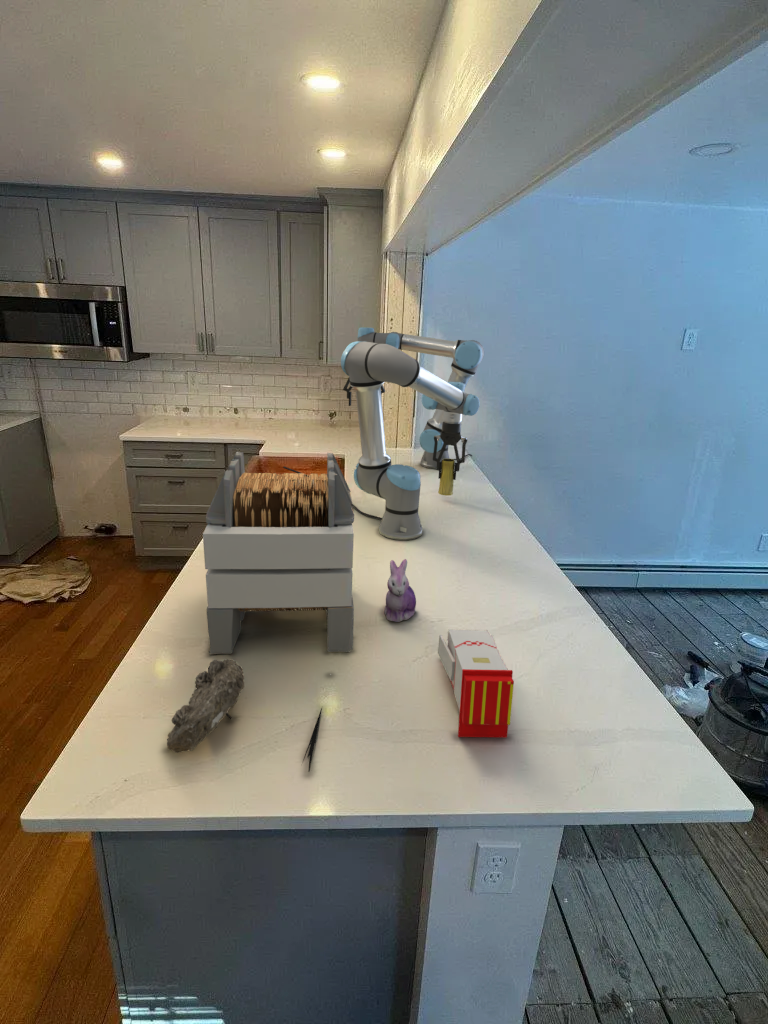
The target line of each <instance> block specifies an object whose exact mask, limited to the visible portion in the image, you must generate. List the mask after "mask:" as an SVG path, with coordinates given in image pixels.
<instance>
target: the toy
mask: <svg viewBox="0 0 768 1024" xmlns="http://www.w3.org/2000/svg"><path fill="white" fill-rule="evenodd" d="M446 640H447V643H446V641H445V639H444V636H443V635H442V634H439V637H438V646H437V656H438V657H439V659H440V661H441V663H442V666H443V668H444V670H445V672H446V674H447V677H448V679H449V681H450V684H451V687H452V690H453V693H454V697H455V701H456V705H457V708H458V711H459V714H458V715H459V716H458V730H457V731H458V732H457V737H458V738H508V731H509V726H510V725H511V717H512V707H513V697H514V696H513V695H514V684H515V680H514V679H513V673H514V671H513V670H512V669H508V667H507V665H506V662H505V661H504V659H503V658H502V655H501V653H500V651H499V649H498V647H497V643H496V639H495V637H494V635H493V634H491V632H490V631H489V629H467V628H466V629H465V628H463V629H461V628H460V629H459V628H448V630H447V639H446Z"/></svg>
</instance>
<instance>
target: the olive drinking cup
mask: <svg viewBox="0 0 768 1024" xmlns="http://www.w3.org/2000/svg"><path fill="white" fill-rule="evenodd" d="M453 459H454V458H450V459H448V458H445V459H442V465H441V476H440V479H439V486H438V492H437V493H438V494H439V495H441V496H448V497H449V496H453V494H454V491H453V490H454V483H455V482H454V481H455V480H454V469H455V463H456V460H453Z"/></svg>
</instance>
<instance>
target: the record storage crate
mask: <svg viewBox="0 0 768 1024" xmlns="http://www.w3.org/2000/svg"><path fill="white" fill-rule="evenodd" d="M244 455H245V454H244V451H242V452H241V451H236V452H235V454H234V456H233V458H232V459H230V463H229V465H228V467H227V469H226V470H224V473H223V475H222V478H221V479H220V482H219V484H218V487H217V489H216V491H215V494H214V495H213V497H212V500H211V502H210V505H209V507H208V509H207V511H206V515H205V523H206V524H207V525H206V527H205V529H204V531H203V533H202V543H203V558H204V569H205V570H206V573H205V584H206V587H205V588H206V598H207V599H206V601H207V607H206V623H207V634H208V641H209V642H208V643H209V650H208V653H209V655H216V654H217V655H218V654H221V655H222V654H223V655H226V654H227V655H228V654H230V655H231V654H232V653H233V650H234V648H235V647H236V643H237V641H238V638H239V636H240V634H241V630H242V626H241V625H242V623H241V622H243V621H244V618H245V615H246V612H272V611H273V612H279V611H280V612H284V611H286V612H288V611H289V612H291V611H292V612H293V611H294V612H295V611H303V612H304V611H322V610H323V611H326V636H327V637H326V641H327V645H326V646H327V652H329V653H330V652H332V653H333V652H343V653H349V652H351V651H352V650H354V617H355V616H354V614H355V607H354V598H353V575H354V573H353V566H354V563H353V562H354V537H355V536H354V535H355V532H354V527H353V524H354V522H355V511H354V507H353V505H354V504H353V500H352V495H351V489H350V487H349V485H348V483H347V480H346V479H345V476H344V474H343V472H342V470H341V467H340V465H339V463H338V461H337V459H336V457H335V455H334V453H333V452H327V453H326V456H327V457H326V468H327V469H326V473H320V474H318V473H307V474H306V473H303V472H301V473H296V472H292V473H291V472H290V473H288V472H283V473H276V472H273V473H271V472H263V473H262V472H259V473H258V472H253V473H252V472H245V468H246V467H245V456H244ZM306 475H307V477H306ZM308 475H309V477H308ZM352 504H353V505H352Z"/></svg>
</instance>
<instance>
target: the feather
mask: <svg viewBox="0 0 768 1024" xmlns="http://www.w3.org/2000/svg"><path fill="white" fill-rule="evenodd" d="M329 675H330V676H331V675H332V674H331V673H330V674H329ZM322 710H323V707H321V708H320V710H319V713H318V716H317V719H316V723H315V725H314V728H313V731H312V733H311V737H310V739H309V742H308V745H307V748H306V751H305V754H304V757H303V760H302V763H301V767H302V765H303V763H304V761H305V758H308V759H309V760H308V762H307V763H308V764H307V766H308V771H310V770H311V766H312V765H311V764H312V760H313V757H315V756H314V755H315V751H316V749H315V746H317V739H318V733H319V729H320V722H321V717H322V712H323V711H322ZM313 754H314V755H313ZM306 755H307V757H306Z"/></svg>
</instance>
